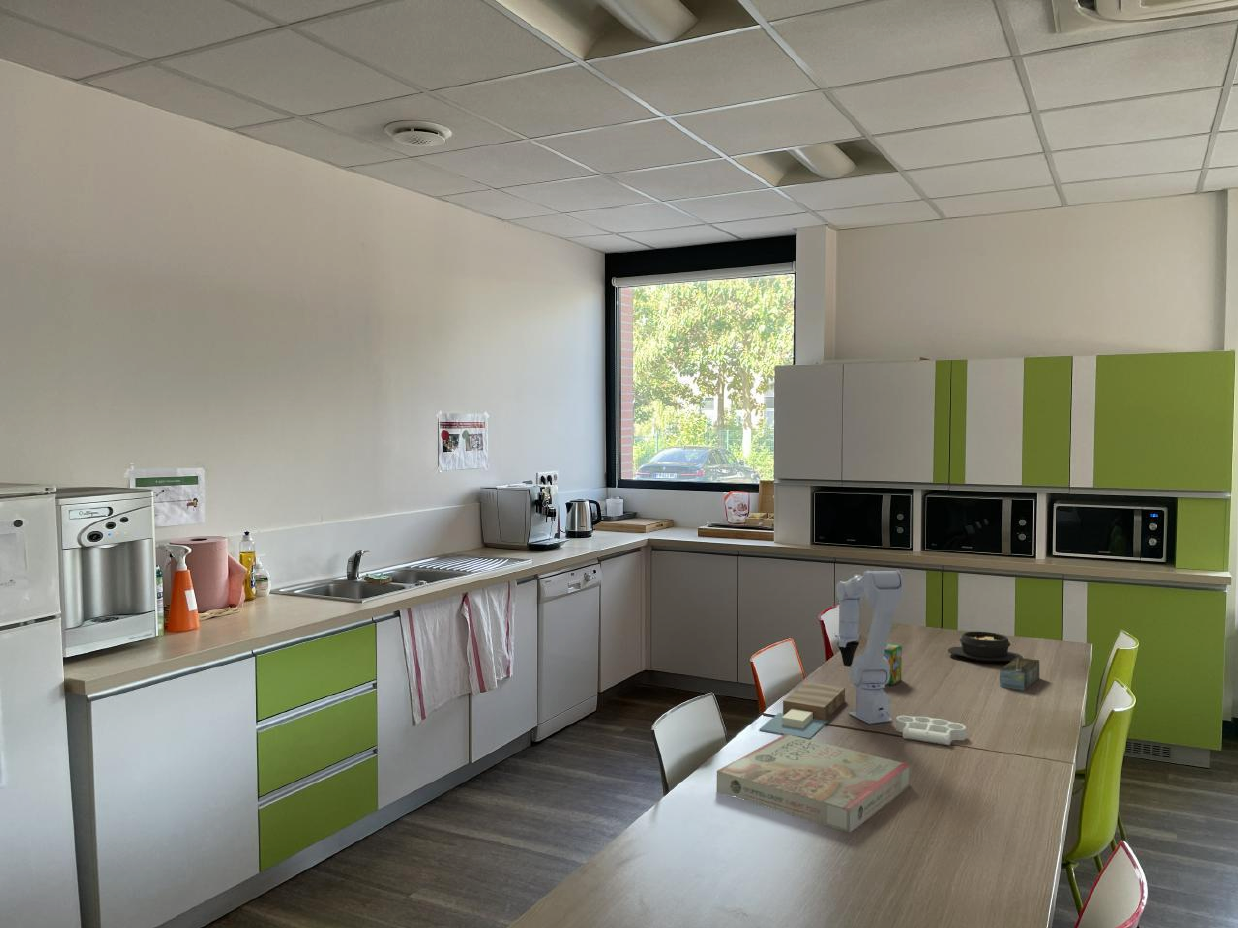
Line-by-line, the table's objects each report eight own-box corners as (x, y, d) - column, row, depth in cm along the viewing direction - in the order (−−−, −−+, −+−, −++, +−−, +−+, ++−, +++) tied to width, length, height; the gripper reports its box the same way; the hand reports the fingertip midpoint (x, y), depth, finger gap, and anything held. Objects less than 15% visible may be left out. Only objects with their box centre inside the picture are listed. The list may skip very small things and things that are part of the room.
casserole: (943, 660, 321) (944, 637, 321) (951, 649, 338) (951, 627, 337) (1020, 669, 310) (1021, 645, 309) (1024, 657, 326) (1024, 634, 326)
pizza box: (850, 809, 183) (716, 770, 203) (849, 835, 183) (716, 793, 203) (910, 764, 208) (786, 733, 228) (909, 787, 208) (785, 754, 228)
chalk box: (892, 686, 288) (893, 640, 288) (864, 681, 294) (865, 635, 293) (902, 679, 296) (903, 635, 295) (875, 675, 301) (876, 631, 301)
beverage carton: (998, 687, 289) (998, 666, 289) (1014, 674, 304) (1015, 655, 304) (1024, 691, 284) (1025, 670, 284) (1040, 678, 299) (1040, 659, 299)
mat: (778, 714, 259) (778, 712, 259) (826, 722, 252) (826, 720, 252) (759, 730, 245) (759, 728, 245) (809, 739, 238) (809, 737, 238)
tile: (791, 715, 256) (792, 708, 256) (812, 719, 253) (812, 712, 253) (781, 724, 248) (781, 717, 248) (802, 728, 245) (802, 720, 245)
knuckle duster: (890, 739, 240) (899, 723, 253) (962, 750, 232) (968, 733, 245) (890, 726, 240) (900, 711, 253) (962, 737, 232) (968, 721, 245)
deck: (806, 694, 278) (806, 681, 278) (845, 700, 272) (845, 687, 272) (782, 714, 259) (783, 700, 258) (824, 721, 253) (824, 707, 253)
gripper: (841, 615, 280) (841, 658, 281) (828, 624, 268) (827, 669, 268) (864, 617, 277) (863, 661, 277) (852, 626, 264) (851, 672, 265)
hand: (847, 665), depth 273 cm, fingers closed
